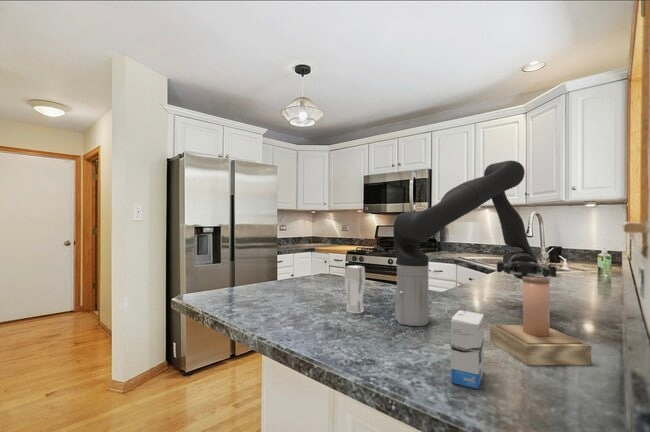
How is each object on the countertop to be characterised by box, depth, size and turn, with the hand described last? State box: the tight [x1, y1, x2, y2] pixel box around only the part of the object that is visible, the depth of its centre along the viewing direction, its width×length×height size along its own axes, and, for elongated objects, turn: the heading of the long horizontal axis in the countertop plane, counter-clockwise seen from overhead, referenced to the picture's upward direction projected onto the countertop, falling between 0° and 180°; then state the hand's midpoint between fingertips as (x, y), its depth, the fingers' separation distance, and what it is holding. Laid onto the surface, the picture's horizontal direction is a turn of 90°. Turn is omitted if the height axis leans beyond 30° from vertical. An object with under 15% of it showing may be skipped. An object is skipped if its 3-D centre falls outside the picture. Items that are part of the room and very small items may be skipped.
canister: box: [521, 276, 551, 337], centre depth 75 cm, size 5×5×13 cm
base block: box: [489, 324, 592, 366], centre depth 75 cm, size 14×14×4 cm
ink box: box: [450, 310, 485, 390], centre depth 62 cm, size 8×5×12 cm, turn 148°
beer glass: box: [344, 264, 366, 314], centre depth 109 cm, size 7×7×15 cm
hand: (527, 271), depth 86 cm, fingers open, 8 cm apart
